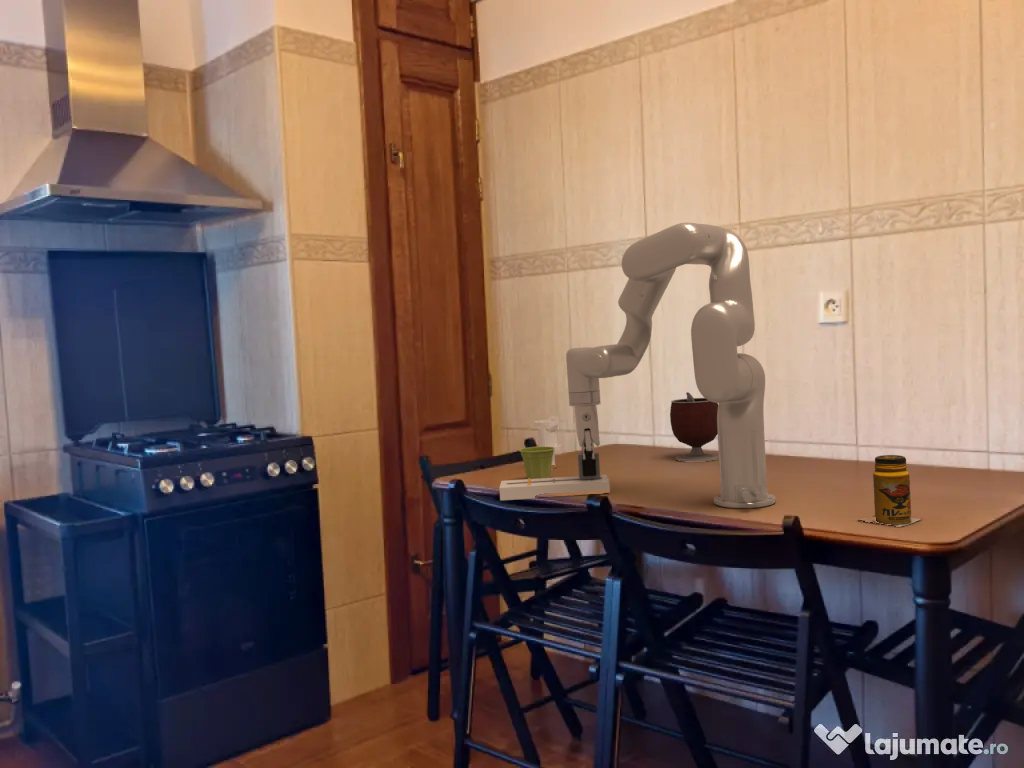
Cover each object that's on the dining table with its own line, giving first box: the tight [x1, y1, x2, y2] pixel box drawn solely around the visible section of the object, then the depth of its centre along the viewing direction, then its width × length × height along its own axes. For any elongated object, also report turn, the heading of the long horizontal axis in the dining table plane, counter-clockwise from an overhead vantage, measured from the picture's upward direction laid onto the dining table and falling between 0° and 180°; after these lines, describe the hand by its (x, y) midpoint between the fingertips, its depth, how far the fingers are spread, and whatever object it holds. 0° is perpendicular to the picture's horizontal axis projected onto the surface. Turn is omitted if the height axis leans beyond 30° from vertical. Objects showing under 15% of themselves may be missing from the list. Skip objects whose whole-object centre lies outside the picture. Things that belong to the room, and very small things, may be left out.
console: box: [499, 473, 611, 501], centre depth 205 cm, size 10×26×3 cm, turn 88°
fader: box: [577, 451, 601, 480], centre depth 204 cm, size 3×5×6 cm, turn 88°
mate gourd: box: [669, 392, 719, 462], centre depth 242 cm, size 16×14×20 cm
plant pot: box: [518, 446, 555, 479], centre depth 224 cm, size 9×9×9 cm
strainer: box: [534, 416, 562, 466], centre depth 244 cm, size 7×7×15 cm
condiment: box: [862, 454, 922, 528], centre depth 155 cm, size 7×8×12 cm
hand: (589, 473), depth 204 cm, fingers closed on fader, 3 cm apart
